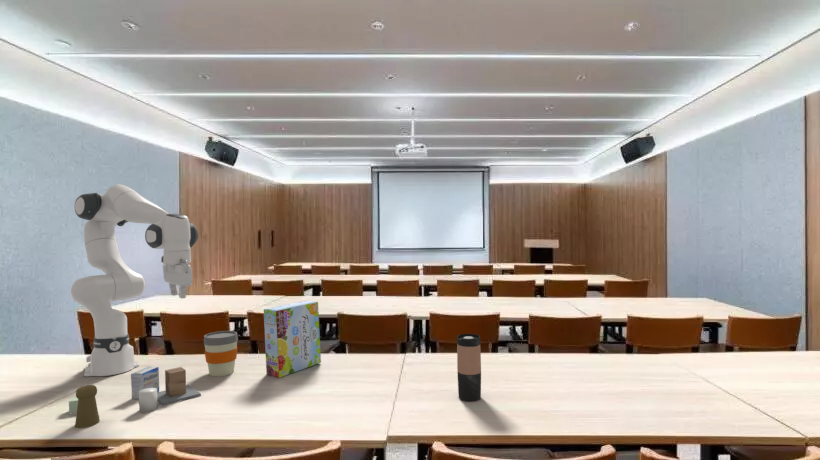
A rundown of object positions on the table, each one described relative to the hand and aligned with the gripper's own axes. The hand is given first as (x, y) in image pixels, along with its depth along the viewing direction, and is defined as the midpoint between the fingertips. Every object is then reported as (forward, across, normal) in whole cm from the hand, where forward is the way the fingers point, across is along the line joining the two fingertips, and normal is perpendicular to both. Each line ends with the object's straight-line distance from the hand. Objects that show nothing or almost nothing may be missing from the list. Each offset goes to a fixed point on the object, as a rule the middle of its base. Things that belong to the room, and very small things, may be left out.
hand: (178, 296), depth 170 cm
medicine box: (+32, -2, +12) cm, 34 cm away
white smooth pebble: (+32, -17, +15) cm, 39 cm away
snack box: (+32, -14, -38) cm, 52 cm away
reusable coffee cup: (+32, +3, -16) cm, 36 cm away
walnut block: (+31, -11, +5) cm, 33 cm away
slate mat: (+32, -11, +5) cm, 34 cm away
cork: (+32, -16, +30) cm, 47 cm away
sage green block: (+32, -2, +30) cm, 44 cm away
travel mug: (+31, -84, -63) cm, 109 cm away
